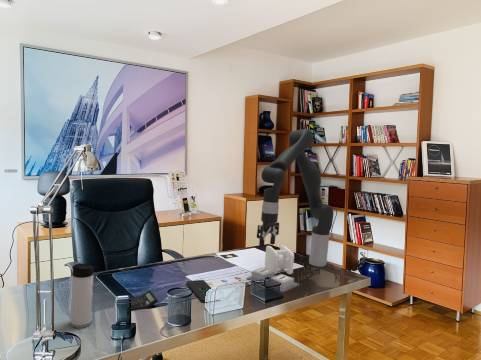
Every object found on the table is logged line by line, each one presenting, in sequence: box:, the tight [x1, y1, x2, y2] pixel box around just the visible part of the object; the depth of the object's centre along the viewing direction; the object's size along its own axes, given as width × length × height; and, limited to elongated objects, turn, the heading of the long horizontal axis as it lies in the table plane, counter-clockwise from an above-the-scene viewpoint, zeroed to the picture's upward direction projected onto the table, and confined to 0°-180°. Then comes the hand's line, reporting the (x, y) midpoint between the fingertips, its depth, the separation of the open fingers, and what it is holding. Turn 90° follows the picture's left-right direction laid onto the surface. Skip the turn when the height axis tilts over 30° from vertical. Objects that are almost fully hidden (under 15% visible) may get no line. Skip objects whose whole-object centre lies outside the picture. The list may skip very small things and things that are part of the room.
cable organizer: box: [264, 245, 295, 275], centre depth 187 cm, size 15×11×12 cm
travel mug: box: [70, 263, 94, 329], centre depth 121 cm, size 6×7×20 cm
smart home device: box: [186, 279, 212, 304], centre depth 155 cm, size 8×2×20 cm
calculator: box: [129, 290, 159, 312], centre depth 140 cm, size 9×12×3 cm
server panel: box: [246, 267, 300, 294], centre depth 172 cm, size 13×20×4 cm, turn 50°
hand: (267, 245), depth 173 cm, fingers open, 8 cm apart
